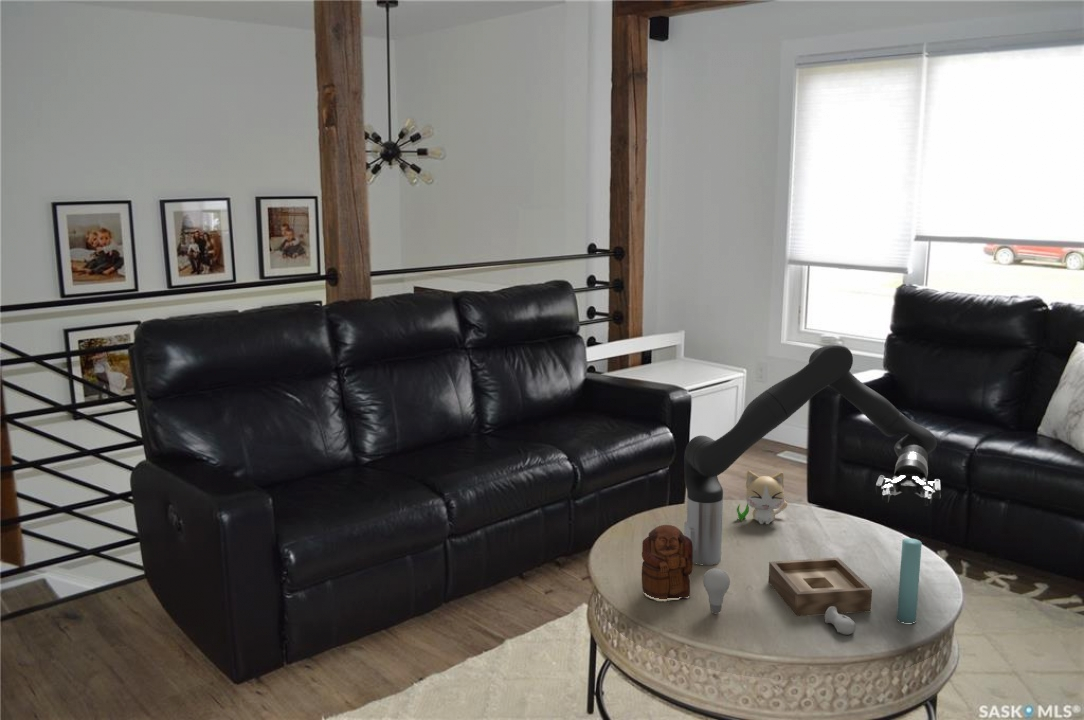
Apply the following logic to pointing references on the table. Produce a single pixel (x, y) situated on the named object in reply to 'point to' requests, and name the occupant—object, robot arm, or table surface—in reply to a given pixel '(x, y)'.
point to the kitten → (764, 497)
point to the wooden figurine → (666, 563)
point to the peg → (909, 580)
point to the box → (819, 586)
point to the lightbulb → (716, 587)
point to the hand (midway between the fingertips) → (906, 500)
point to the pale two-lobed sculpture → (839, 621)
